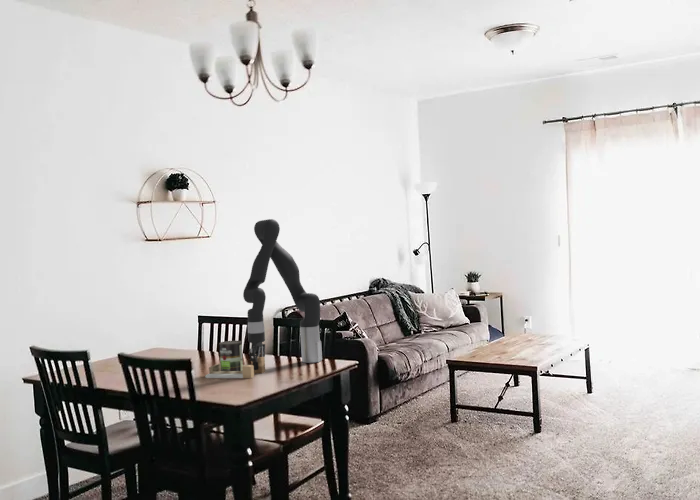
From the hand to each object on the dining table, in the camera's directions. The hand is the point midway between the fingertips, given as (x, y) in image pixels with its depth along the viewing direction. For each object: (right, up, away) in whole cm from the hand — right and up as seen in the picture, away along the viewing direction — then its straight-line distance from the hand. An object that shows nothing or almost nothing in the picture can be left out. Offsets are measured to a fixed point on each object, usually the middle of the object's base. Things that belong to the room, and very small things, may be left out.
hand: (258, 368), depth 303 cm
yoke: (-9, -2, +2) cm, 9 cm away
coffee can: (-13, -3, +3) cm, 13 cm away
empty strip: (-12, -3, -7) cm, 14 cm away
